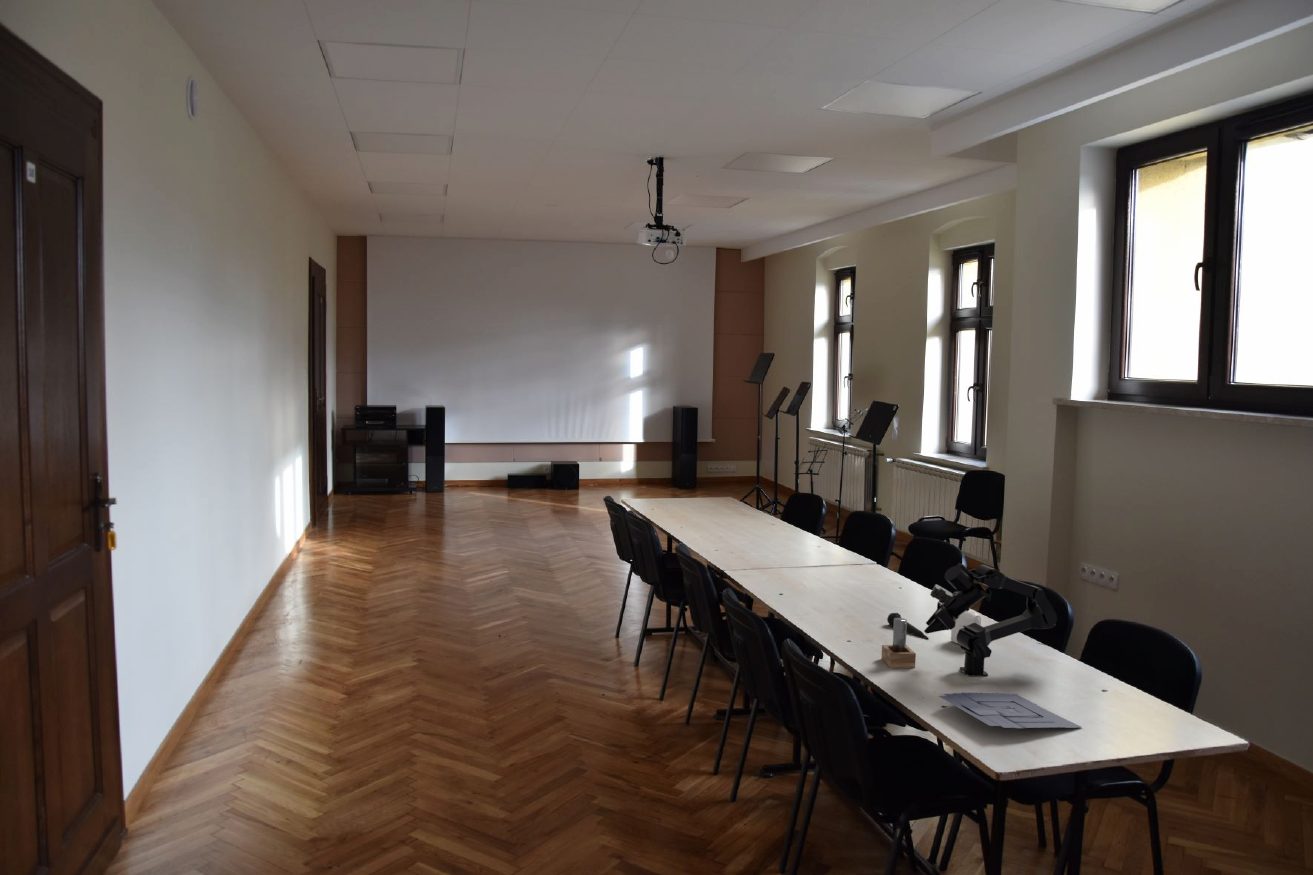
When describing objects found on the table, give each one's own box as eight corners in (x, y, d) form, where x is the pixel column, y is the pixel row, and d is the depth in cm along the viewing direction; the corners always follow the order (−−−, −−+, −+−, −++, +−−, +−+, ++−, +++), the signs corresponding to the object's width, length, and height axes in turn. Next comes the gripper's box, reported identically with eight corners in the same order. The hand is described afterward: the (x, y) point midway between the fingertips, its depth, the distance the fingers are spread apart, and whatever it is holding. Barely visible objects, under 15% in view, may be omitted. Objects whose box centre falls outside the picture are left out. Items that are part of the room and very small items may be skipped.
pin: (907, 658, 275) (909, 619, 274) (900, 661, 273) (902, 622, 272) (896, 655, 278) (898, 616, 277) (889, 657, 276) (891, 619, 275)
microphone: (930, 646, 302) (891, 624, 318) (935, 632, 301) (897, 611, 317) (920, 644, 299) (882, 622, 315) (926, 630, 299) (887, 608, 315)
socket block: (915, 667, 272) (915, 653, 272) (890, 667, 272) (891, 653, 271) (905, 658, 280) (906, 644, 280) (881, 658, 279) (882, 645, 279)
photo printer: (948, 640, 299) (950, 605, 298) (957, 639, 301) (959, 604, 300) (972, 650, 290) (974, 614, 289) (981, 648, 292) (983, 612, 291)
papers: (930, 702, 242) (932, 689, 241) (1013, 702, 253) (1015, 690, 252) (993, 739, 219) (995, 725, 219) (1081, 737, 230) (1084, 724, 230)
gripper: (948, 571, 277) (910, 600, 282) (946, 584, 260) (905, 615, 265) (973, 598, 275) (934, 627, 280) (972, 614, 258) (931, 644, 263)
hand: (925, 628), depth 272 cm, fingers open, 9 cm apart
